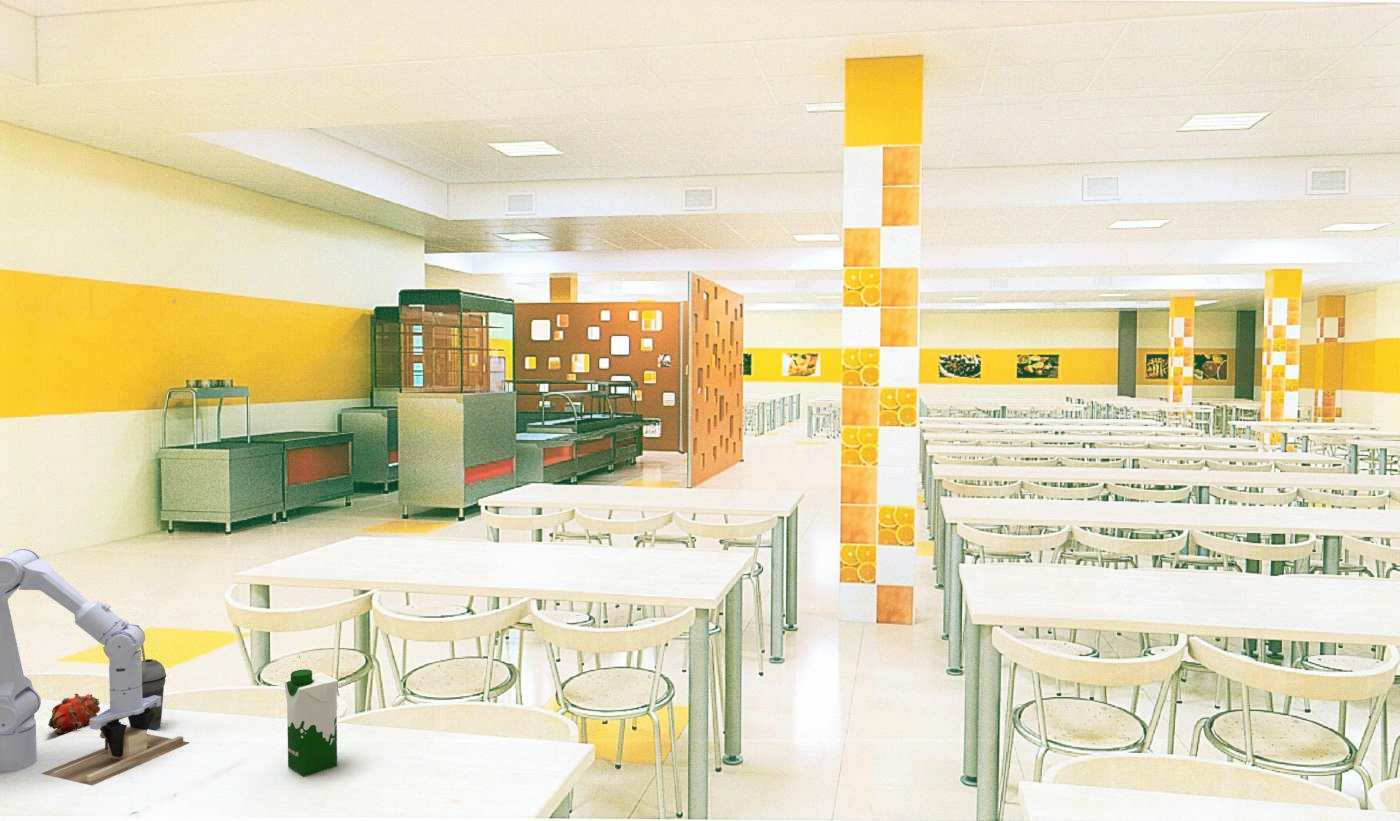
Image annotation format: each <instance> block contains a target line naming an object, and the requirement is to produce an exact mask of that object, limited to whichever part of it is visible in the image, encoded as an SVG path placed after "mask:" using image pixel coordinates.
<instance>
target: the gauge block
mask: <svg viewBox="0 0 1400 821" xmlns="http://www.w3.org/2000/svg"><path fill="white" fill-rule="evenodd" d="M147 732H148V730H147V731H146V730H141V729H136V728H131V727H130V726H126V729H125V733H124V739H123V754H122V756H121V757H116V756H112V753H111V750H110V747H109V744H108V742H107V740H106V738H105V736H104V734H103V733H102V732H101V731H100V734H99V736H100V738H101V739H104V748H105V750H108V757H109V758H113V759H118V760H124V759H126V758H128V757H131V756H133V755H135V754H138V753H140V752H143V751H145V750H147V734H148V733H147Z"/></svg>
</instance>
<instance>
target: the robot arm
mask: <svg viewBox="0 0 1400 821" xmlns="http://www.w3.org/2000/svg"><path fill="white" fill-rule="evenodd" d="M17 590H20V591H40V592H42V593H44V594H45V595H46V596H48V597H49V598H50V599H52V600H53V601H55V602H56V603H57V604H59V605H61V606H62V607H64V609H66V610H68V611H69V612H70V613H72V614H73V615H74V623H75V625H77V626H78V627H79V628H80V629H82V630H83V631H84V632H85V633H87V635H89V636H90V637H92V638H93V639H94V640H95V641H97V642H98V643H99V644H101V645H103V646H102V647H103V648H102V649H103V653H104V654H105V656H106V657H107V658H108V663H109V665H108V674H109V675H108V678H109V680H108V681H109V708H108V709H106V710H105V711H103V712H101V713H100V714H97V715H98V716H96V717H94V718H91V719H90V722H89V729H91V730H96V731H98V730H100V733H101V732H102V733H103V734H104V736H105V738H106V740H107V742H108V744H109V747H110V750H111V753H112V756H116V757H121V756H122V754H123V739H124V733H125V729H126V727H128V726H127V724H124V723H121V721H120V720H123V719H126V718H128V721H129V722H128V723H129V727H131V728H136V729H141V730H146V731H147V732H148V730H149V729H148V727H149V725H150V723H151V721H152V719H153V718H154V716H155V712H154V711H150V708H152V707H158V706H161V696H155V695H154V696H151V697H147V698H143V699H142V661H143V660H142V650H141V646H142V645H143V646H144V644H145V642H146V641H145V640H146V634H145V632H144V630H143V629H142V628H141V627H140V625H139V624H136V623H130V622H129V621H128V620H126V619H125V620H123V619H122V617H120V616H118V615H117V614H116V613H115V612H114V611H112V610H111V608H112V607H111V605H110V604H109V603H107V602H105V603H104V604H103V603H102V602H101V601H99V600H98V601H96V600H95V601H90V600H88V599H87V598H86V597H85V596H84V595H83V594H81V592H80V591H78V590H77V589H76V588H75V587H74V586H73V585H72V584H71V583H69V582H68V581H67V580H66V579H65V578H64V577H63V576H62V575H60V574H59V573H58V572H57V571H56V570H55V569H54V568H53V567H52V565H51V564H50V562H49V561H48V560H47V559H45V558H43V557H41V556H40V554H38V553H37V552H36V551H35V550H32V549H30V548H19V549H16V550H14V551H13V552H9V553H8V554H6V555H3V556H0V773H10V772H15V771H16V772H17V771H21V770H24V769H27V768H29V767H31V766H33V765H35V764H36V763H37V761H38V756H37V754H38V752H37V723H36V722H37V721H36V718H35V714H37V712H38V711H39V709H40V707H41V704H42V700H41V696H40V695H39V693H38V692H37V691H36V690H35V688H34V687H33V682H32V680H31V679H30V678H28V677H27V676H25V674H24V670H23V666H22V665H23V664H22V662H21V656H20V651H19V648H18V643H17V639H16V633H15V629H14V625H13V619H12V616H11V615H12V614H11V610H10V605H9V599H10V598H11V597H12V595H13V594H15V593H16V591H17Z"/></svg>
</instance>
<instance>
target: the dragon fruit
mask: <svg viewBox="0 0 1400 821" xmlns="http://www.w3.org/2000/svg"><path fill="white" fill-rule="evenodd" d="M99 700H100V699H99V698H96V697H95V696H93V694H85V696H83V695H79V693H74V697H70V698H69V697H66V698H64V699H62V700H61V703H59V704H56V705H55V706H54V707H53V708H52V710H51V713H52V714H51V717H50V719H49V721H48V724H47V725H48V727H50V728H52V729H54V732H55V736H58V735H67V734H69V733H71V732H72V731H74V730H80V729H81V730H82V729H84V728H86V727H87V726H89V727H90V719H91V718H94V717H96V716H98V715H99V714H98V713H99V712H101V708H100V706H99V705H100V701H99Z"/></svg>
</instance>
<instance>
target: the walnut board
mask: <svg viewBox="0 0 1400 821" xmlns="http://www.w3.org/2000/svg"><path fill="white" fill-rule="evenodd" d="M190 743H191V742H189V741H184V736H181V735H178V736H176V737H173V738H171V737H164V736H159V735H155V734H150V733H147V750H145V751H143V752H140V753H138V754H135V755H133V756H131V757H128V758H126V759H124V760H118V759H113V758H109V757H108V750H105V747H104V748H101V749H99V750H96V751H93V752H91V753H89V754H86V755H83V756H81V757H79V758H76V759H74V760H71V761H69V762H67V763H64V764H61V765H58V766H56V767H54V768H51V769H49V770H46V771H44V772H42V773H41V774H42V775H45V776H50V777H53V778H58V779H62V780H66V781H71V782H76V783H80V784H84V785H89V786H95V785H96V784H99V783H102V782H104V781H106V780H108V779H111V778H113V777H115V776H118V775H120V774H123V773H125V772H126V771H129V770H131V769H133V768H136V767H139V766H140V765H143V764H145V763H148V762H150V761H152V760H153V759H156V758H159V757H160V756H163V755H165V754H168V753H170V752H172V751H174V750H177V749H179V748H182V747H184V746H186V745H189V744H190Z"/></svg>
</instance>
